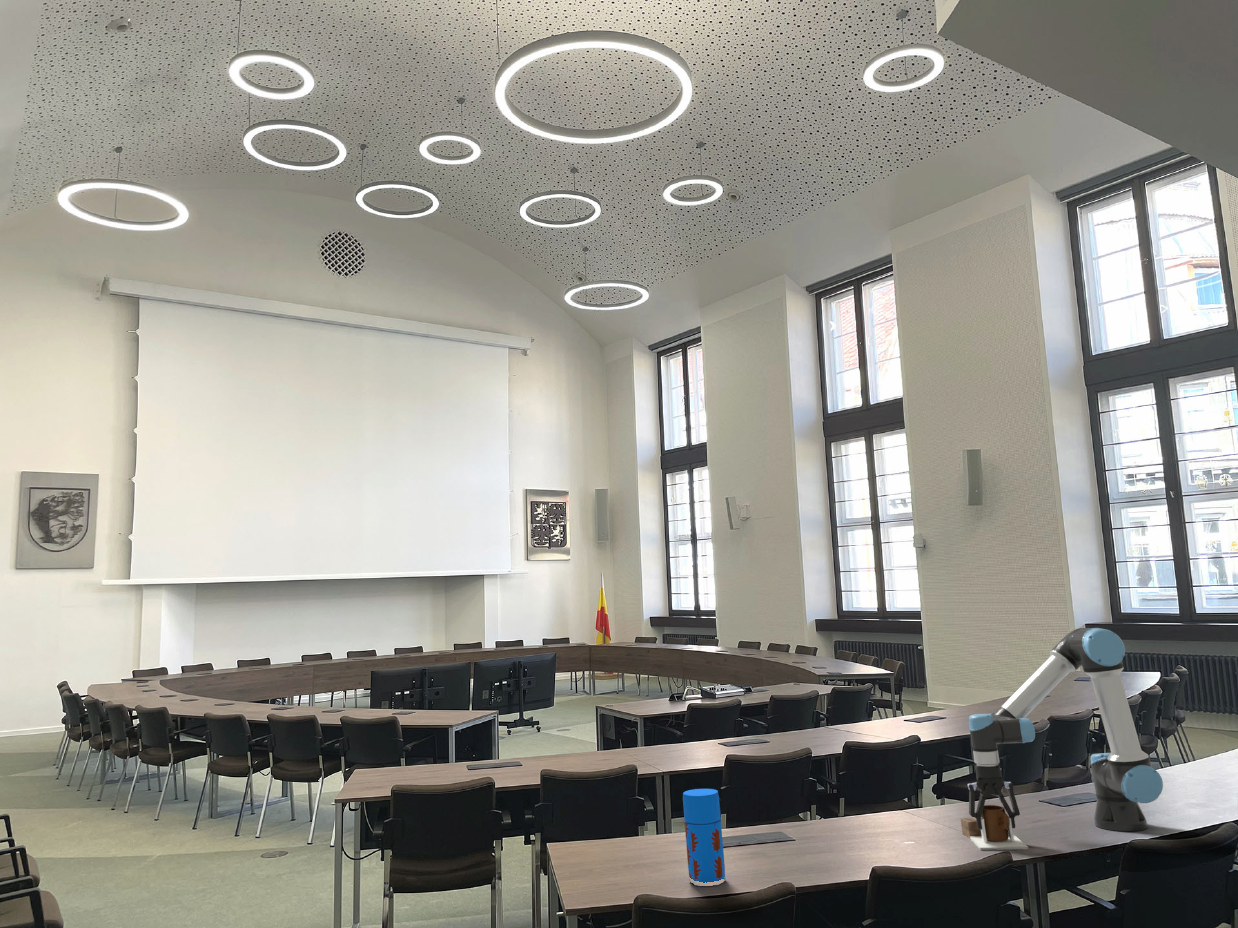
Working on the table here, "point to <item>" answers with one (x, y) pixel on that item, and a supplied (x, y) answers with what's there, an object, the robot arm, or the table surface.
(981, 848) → the felt mat
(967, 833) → the walnut block
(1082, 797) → the table surface
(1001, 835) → the mug
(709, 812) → the thermos
